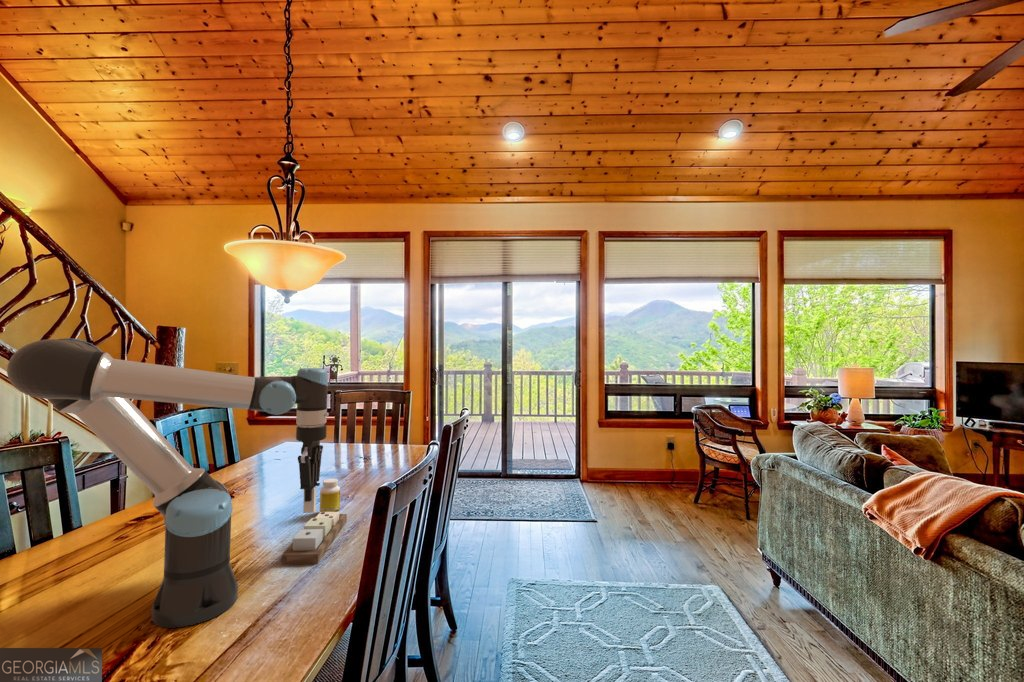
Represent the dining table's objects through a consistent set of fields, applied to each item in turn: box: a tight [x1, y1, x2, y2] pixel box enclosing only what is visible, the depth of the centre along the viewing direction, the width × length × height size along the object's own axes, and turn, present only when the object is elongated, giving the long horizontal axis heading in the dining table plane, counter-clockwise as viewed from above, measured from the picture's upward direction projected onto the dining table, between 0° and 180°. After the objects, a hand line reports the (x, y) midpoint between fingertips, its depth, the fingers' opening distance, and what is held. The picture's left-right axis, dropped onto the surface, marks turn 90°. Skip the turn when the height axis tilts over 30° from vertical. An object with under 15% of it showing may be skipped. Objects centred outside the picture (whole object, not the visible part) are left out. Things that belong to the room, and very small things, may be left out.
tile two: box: [303, 517, 332, 537], centre depth 127 cm, size 6×6×3 cm
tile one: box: [292, 528, 323, 551], centre depth 119 cm, size 6×6×3 cm
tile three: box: [314, 511, 340, 525], centre depth 135 cm, size 6×6×3 cm
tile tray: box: [281, 513, 348, 565], centre depth 127 cm, size 27×9×2 cm, turn 6°
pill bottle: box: [319, 478, 341, 513], centre depth 148 cm, size 6×6×11 cm
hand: (309, 511), depth 120 cm, fingers closed
